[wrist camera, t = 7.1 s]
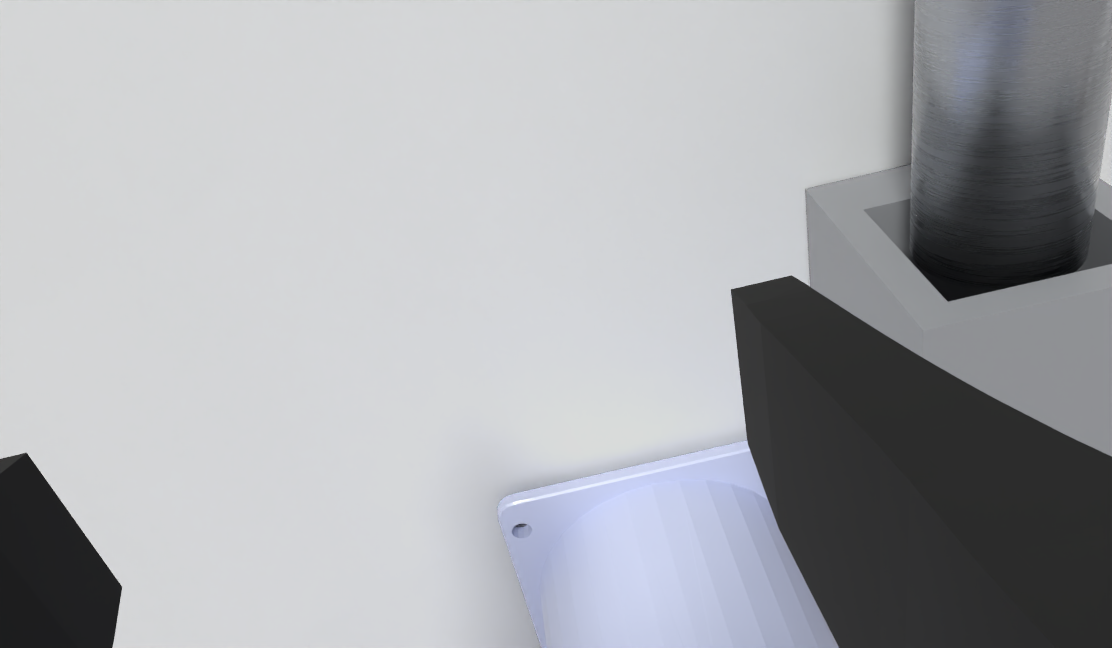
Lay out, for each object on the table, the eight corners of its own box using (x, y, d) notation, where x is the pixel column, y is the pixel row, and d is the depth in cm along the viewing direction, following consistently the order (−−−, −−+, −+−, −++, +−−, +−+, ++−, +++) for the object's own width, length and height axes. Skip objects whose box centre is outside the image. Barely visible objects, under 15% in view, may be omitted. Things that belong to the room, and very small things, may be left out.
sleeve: (1010, 360, 23) (1161, 521, 18) (816, 405, 23) (914, 576, 18) (1034, 135, 19) (1226, 260, 15) (805, 189, 19) (923, 330, 15)
